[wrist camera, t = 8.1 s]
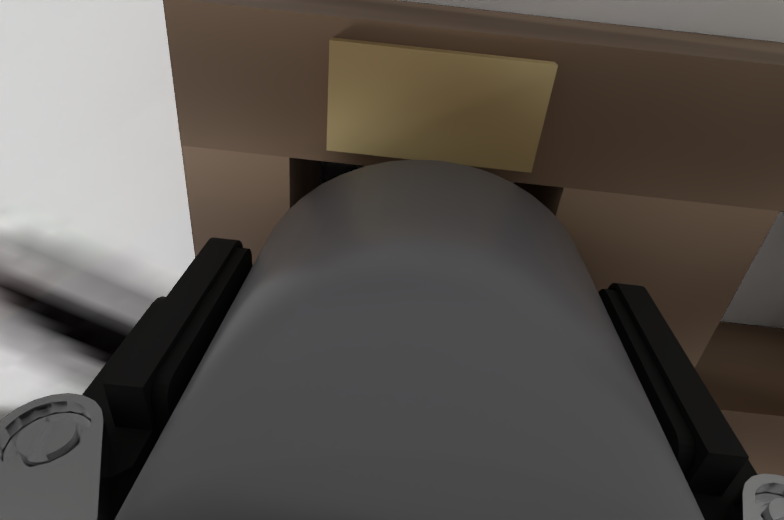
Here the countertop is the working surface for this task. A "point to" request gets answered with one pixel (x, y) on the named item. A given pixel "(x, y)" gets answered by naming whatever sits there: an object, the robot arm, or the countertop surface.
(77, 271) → the countertop surface
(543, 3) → the countertop surface
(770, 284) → the countertop surface
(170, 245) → the countertop surface
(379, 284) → the plug
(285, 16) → the socket block
